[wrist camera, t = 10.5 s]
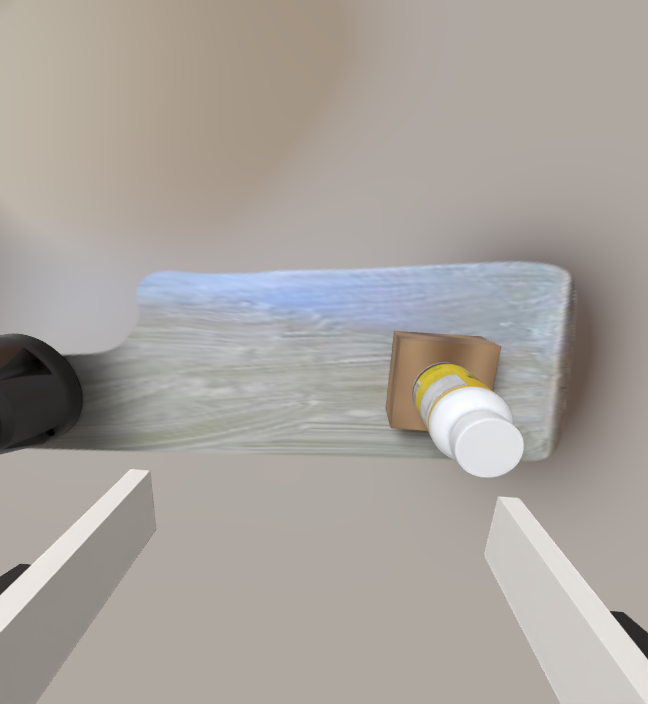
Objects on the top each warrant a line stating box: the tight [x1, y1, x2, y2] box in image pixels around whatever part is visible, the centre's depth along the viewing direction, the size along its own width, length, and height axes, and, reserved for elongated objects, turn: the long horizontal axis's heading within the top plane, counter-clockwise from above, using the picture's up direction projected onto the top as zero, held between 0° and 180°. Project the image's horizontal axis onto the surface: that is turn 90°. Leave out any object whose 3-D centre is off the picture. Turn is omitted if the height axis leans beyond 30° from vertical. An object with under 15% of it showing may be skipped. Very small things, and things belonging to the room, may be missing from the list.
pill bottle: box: [412, 362, 524, 478], centre depth 27 cm, size 6×6×12 cm
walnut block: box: [386, 331, 501, 431], centre depth 35 cm, size 10×10×5 cm
